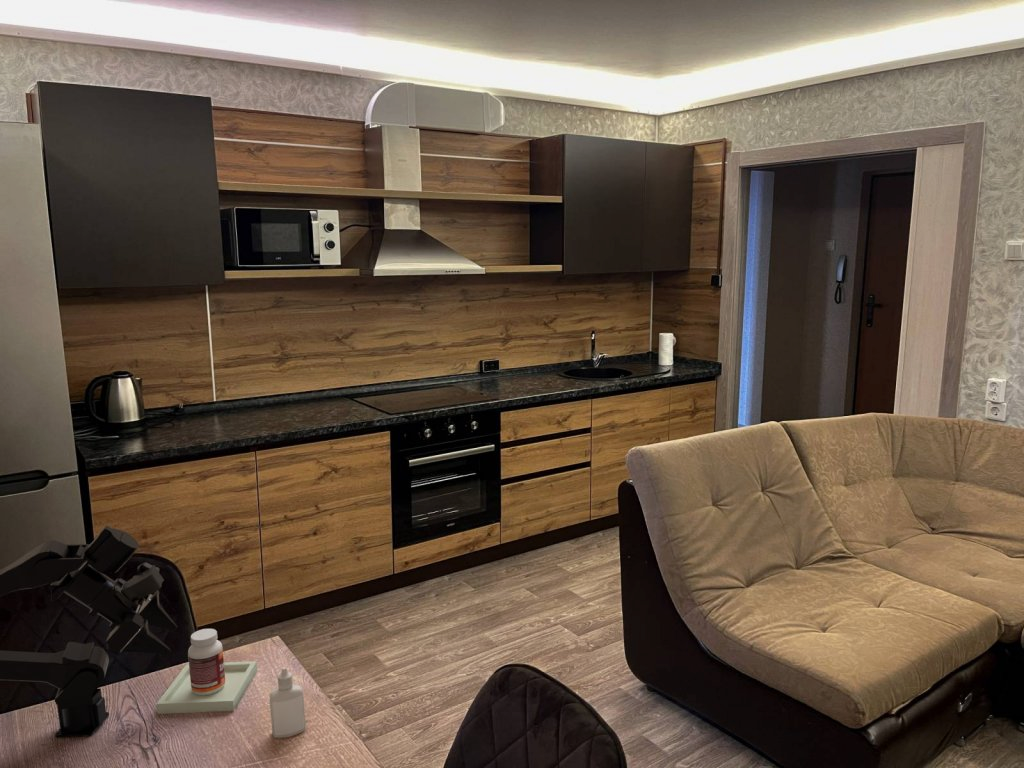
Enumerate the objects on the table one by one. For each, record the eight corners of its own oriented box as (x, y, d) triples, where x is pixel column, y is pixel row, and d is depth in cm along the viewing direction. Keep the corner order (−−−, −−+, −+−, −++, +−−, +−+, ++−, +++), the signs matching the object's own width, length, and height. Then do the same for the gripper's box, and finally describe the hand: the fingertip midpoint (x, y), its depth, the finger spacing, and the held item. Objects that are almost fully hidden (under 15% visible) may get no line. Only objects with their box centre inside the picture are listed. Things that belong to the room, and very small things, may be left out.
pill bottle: (229, 689, 143) (224, 636, 142) (195, 700, 140) (189, 645, 138) (221, 675, 148) (217, 623, 147) (188, 685, 145) (183, 632, 143)
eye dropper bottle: (300, 739, 129) (295, 675, 127) (268, 738, 129) (263, 674, 127) (309, 724, 133) (304, 662, 131) (279, 723, 134) (273, 661, 132)
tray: (157, 713, 137) (156, 703, 137) (188, 673, 151) (187, 663, 151) (234, 710, 138) (233, 700, 137) (257, 670, 152) (256, 661, 151)
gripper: (119, 577, 124) (197, 629, 129) (140, 539, 142) (207, 586, 146) (72, 629, 123) (151, 679, 128) (98, 585, 141) (167, 630, 145)
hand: (172, 640), depth 137 cm, fingers open, 9 cm apart
